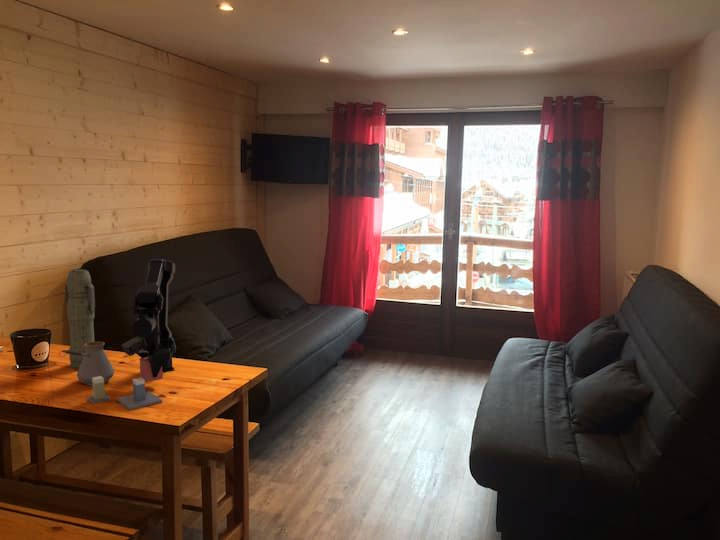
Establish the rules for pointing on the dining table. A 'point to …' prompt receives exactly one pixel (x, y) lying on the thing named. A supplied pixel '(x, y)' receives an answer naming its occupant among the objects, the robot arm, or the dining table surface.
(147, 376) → the red rectangular block
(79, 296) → the grey figurine statue
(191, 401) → the dining table surface
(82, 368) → the coffee pot
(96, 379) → the grey base with block
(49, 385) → the dining table surface
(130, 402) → the grey plate with post
